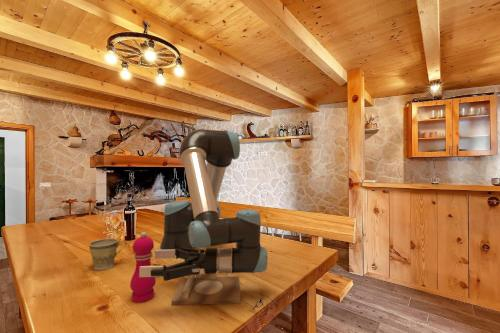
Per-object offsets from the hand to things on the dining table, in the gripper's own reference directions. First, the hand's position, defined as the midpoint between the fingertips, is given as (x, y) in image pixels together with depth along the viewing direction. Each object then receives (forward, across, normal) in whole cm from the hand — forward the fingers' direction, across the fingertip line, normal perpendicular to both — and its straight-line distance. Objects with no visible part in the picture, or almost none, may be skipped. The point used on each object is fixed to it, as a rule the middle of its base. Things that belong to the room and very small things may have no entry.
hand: (148, 262), depth 74 cm
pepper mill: (+2, 0, -11) cm, 11 cm away
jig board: (-18, +3, -11) cm, 21 cm away
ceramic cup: (+24, +25, -11) cm, 37 cm away
